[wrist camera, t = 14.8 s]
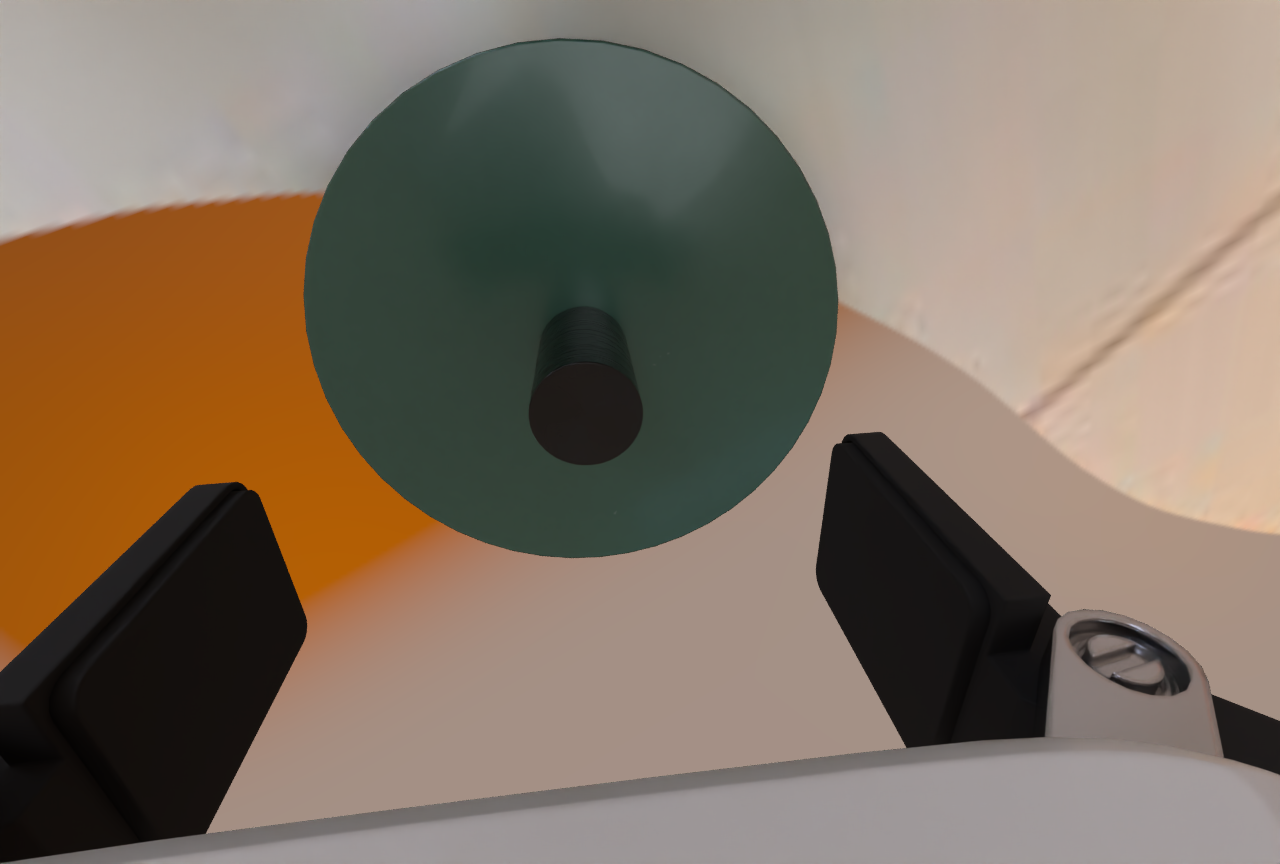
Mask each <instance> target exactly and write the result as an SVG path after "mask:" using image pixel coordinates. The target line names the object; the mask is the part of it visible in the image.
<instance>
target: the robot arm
mask: <svg viewBox="0 0 1280 864" xmlns="http://www.w3.org/2000/svg"><path fill="white" fill-rule="evenodd" d="M816 576H817V582H818V585H819V588H820V590H821V592H822V594H823V596H824V597H825V599H826V601H827V603H828V605H829V607H830V608H831V610H832V612H833V614H834V616H835V618H836V619H837V621H838V623H839V625H840V627H841V629H842V630H843V632H844V634H845V636H846V637H847V639H848V641H849V643H850V645H851V647H852V649H853V650H854V652H855V654H856V656H857V658H858V660H859V661H860V663H861V665H862V667H863V669H864V671H865V672H866V674H867V676H868V678H869V680H870V682H871V683H872V685H873V687H874V689H875V691H876V692H877V694H878V696H879V698H880V700H881V702H882V703H883V705H884V707H885V709H886V711H887V713H888V715H889V716H890V718H891V720H892V722H893V724H894V725H895V727H896V729H897V731H898V733H899V735H900V736H901V738H902V740H903V742H904V744H905V746H906V748H903V749H893V750H883V751H873V752H863V753H854V754H845V755H837V756H829V757H820V758H812V759H803V760H794V761H786V762H778V763H769V764H761V765H752V766H744V767H735V768H727V769H719V770H711V771H702V772H693V773H685V774H676V775H668V776H659V777H651V778H643V779H636V780H628V781H619V782H611V783H603V784H594V785H587V786H578V787H570V788H562V789H554V790H546V791H538V792H530V793H522V794H514V795H506V796H498V797H490V798H482V799H474V800H466V801H458V802H451V803H443V804H434V805H426V806H418V807H410V808H402V809H394V810H387V811H379V812H371V813H363V814H356V815H348V816H340V817H332V818H324V819H317V820H309V821H302V822H295V823H286V824H278V825H271V826H263V827H255V828H248V829H240V830H232V831H225V832H217V833H209V834H206V832H207V830H208V828H209V826H210V824H211V822H212V820H213V818H214V816H215V814H216V812H217V810H218V808H219V806H220V805H221V802H222V801H223V799H224V797H225V795H226V793H227V791H228V789H229V787H230V785H231V783H232V781H233V779H234V777H235V775H236V773H237V771H238V769H239V767H240V765H241V763H242V762H243V759H244V757H245V756H246V754H247V752H248V749H249V748H250V746H251V744H252V742H253V740H254V738H255V736H256V734H257V732H258V730H259V728H260V726H261V724H262V722H263V720H264V718H265V717H266V714H267V713H268V711H269V709H270V707H271V705H272V703H273V701H274V699H275V697H276V695H277V693H278V691H279V689H280V687H281V685H282V683H283V681H284V679H285V677H286V675H287V674H288V671H289V670H290V668H291V666H292V664H293V662H294V660H295V658H296V656H297V654H298V652H299V650H300V648H301V646H302V644H303V642H304V640H305V637H306V633H307V620H306V616H305V613H304V611H303V608H302V605H301V603H300V600H299V598H298V595H297V592H296V590H295V587H294V585H293V582H292V580H291V577H290V574H289V572H288V569H287V567H286V564H285V561H284V559H283V556H282V554H281V551H280V548H279V546H278V543H277V541H276V538H275V536H274V533H273V530H272V528H271V525H270V523H269V520H268V517H267V515H266V512H265V510H264V507H263V504H262V502H261V499H260V497H259V495H258V494H257V493H256V492H255V491H252V490H247V489H246V487H245V486H244V485H243V484H241V483H239V482H231V483H219V484H206V485H197V486H194V487H193V488H191V489H190V490H189V491H188V492H187V493H186V494H185V495H184V496H183V497H182V498H181V499H180V500H179V501H178V502H176V503H175V504H174V505H173V506H172V507H171V508H170V509H169V510H168V511H167V512H166V513H165V514H164V515H163V516H162V517H161V518H160V519H159V520H158V521H157V522H156V523H155V524H154V525H153V526H152V527H151V528H150V529H148V530H147V531H146V532H145V533H144V534H143V535H142V536H141V537H140V538H139V539H138V540H137V541H136V542H135V543H134V544H133V545H132V546H131V547H130V548H129V549H128V550H127V551H126V552H125V553H123V554H122V555H121V556H120V557H119V558H118V560H116V561H115V562H114V563H113V564H112V565H111V566H110V567H109V568H108V569H107V570H106V571H105V572H104V573H103V574H102V575H101V576H100V577H99V578H98V579H97V580H96V581H94V582H93V583H92V584H91V585H90V586H89V587H88V588H87V589H86V590H85V591H84V592H83V593H82V594H81V595H80V596H79V597H78V598H77V599H76V600H75V601H74V602H73V603H72V604H71V605H70V606H68V608H66V610H64V611H63V612H62V613H61V614H60V615H59V616H58V617H57V618H56V619H55V620H54V621H53V622H52V623H51V624H50V625H49V626H48V627H47V628H46V629H44V630H43V631H42V632H41V633H40V634H39V635H38V636H37V637H36V638H35V639H34V640H33V641H32V642H31V643H30V644H29V645H28V646H27V647H26V648H25V649H24V650H23V651H22V652H21V653H20V654H19V655H18V656H17V657H15V658H14V659H13V660H12V661H11V662H10V663H9V664H8V665H7V666H6V667H5V668H4V669H3V670H2V671H1V672H0V864H1280V721H1278V720H1275V719H1273V718H1270V717H1268V716H1265V715H1263V714H1260V713H1258V712H1255V711H1253V710H1250V709H1248V708H1245V707H1243V706H1240V705H1237V704H1235V703H1232V702H1229V701H1227V700H1225V699H1222V698H1220V697H1217V696H1214V695H1212V694H1211V690H1210V686H1209V681H1208V679H1207V677H1206V675H1205V673H1204V670H1203V668H1202V666H1201V665H1200V664H1199V663H1198V662H1197V661H1196V660H1195V659H1194V657H1193V656H1192V655H1191V654H1190V653H1189V652H1188V651H1187V650H1186V649H1185V648H1183V647H1182V646H1181V645H1179V644H1178V643H1177V642H1175V641H1174V640H1173V639H1172V638H1170V637H1169V636H1167V635H1165V634H1163V633H1162V632H1160V631H1158V630H1156V629H1154V628H1153V627H1151V626H1149V625H1147V624H1145V623H1142V622H1140V621H1137V620H1134V619H1132V618H1129V617H1127V616H1124V615H1120V614H1116V613H1111V612H1107V611H1103V610H1086V609H1083V610H1077V611H1072V612H1068V613H1066V614H1065V615H1063V616H1060V615H1059V614H1058V613H1057V612H1056V611H1055V610H1054V609H1053V608H1052V607H1051V606H1050V605H1049V604H1048V602H1049V599H1050V596H1051V595H1050V594H1049V593H1048V592H1047V591H1046V590H1045V589H1044V588H1043V587H1042V586H1041V585H1040V584H1039V583H1038V582H1037V581H1036V580H1035V579H1034V578H1033V577H1032V576H1031V575H1030V574H1029V573H1028V572H1027V571H1025V570H1024V569H1023V568H1022V567H1021V566H1020V565H1019V564H1018V563H1017V562H1016V561H1015V560H1014V559H1013V558H1012V557H1011V556H1010V555H1009V554H1008V553H1007V552H1006V551H1005V550H1004V549H1003V548H1002V547H1001V546H1000V545H998V543H997V542H996V541H994V540H993V539H992V538H991V537H990V536H989V535H988V534H987V533H986V532H985V531H984V530H983V529H982V528H981V527H980V526H979V525H978V524H977V523H976V522H975V521H974V520H973V519H972V518H971V517H970V516H968V514H967V513H966V512H964V511H963V510H962V509H961V508H960V507H959V506H958V505H957V504H956V503H955V502H954V501H953V500H952V499H951V498H950V497H949V496H948V495H947V494H946V493H945V492H944V491H943V490H942V489H941V488H940V487H939V486H938V485H937V484H936V483H935V482H934V481H933V480H932V479H931V478H929V477H928V476H927V475H926V474H925V473H924V472H923V471H922V470H921V469H920V468H919V467H918V466H917V465H916V464H915V463H914V462H913V461H912V460H911V459H910V458H909V457H908V456H907V455H906V454H905V453H904V452H902V450H901V449H899V448H898V447H897V446H896V445H895V444H894V443H893V442H892V441H891V440H890V439H889V438H888V437H887V436H886V435H885V434H883V433H882V432H873V433H860V434H848V435H846V436H845V437H844V439H843V441H842V443H840V444H836V445H835V446H834V447H833V451H832V456H831V463H830V471H829V478H828V485H827V492H826V499H825V506H824V514H823V521H822V528H821V535H820V542H819V550H818V557H817V564H816Z"/></svg>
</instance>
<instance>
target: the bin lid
mask: <svg viewBox="0 0 1280 864" xmlns="http://www.w3.org/2000/svg"><path fill="white" fill-rule="evenodd" d="M304 307H305V319H306V332H307V336H308V340H309V345H310V350H311V354H312V358H313V363H314V366H315V370H316V372H317V374H318V377H319V380H320V383H321V386H322V389H323V391H324V394H325V397H326V399H327V401H328V403H329V405H330V407H331V408H332V410H333V412H334V414H335V416H336V418H337V420H338V422H339V424H340V426H341V427H342V429H343V430H344V432H345V433H346V435H347V436H348V438H349V439H350V440H351V442H352V443H353V445H354V446H355V448H356V449H357V450H358V452H359V453H360V455H361V456H362V457H363V458H364V459H365V460H366V461H367V463H368V464H369V465H370V466H371V467H372V468H373V469H374V470H375V471H376V473H377V474H378V475H379V476H380V477H381V478H382V479H383V480H384V481H385V482H386V483H388V484H389V485H390V486H391V487H392V488H393V489H395V491H397V492H398V493H399V494H400V495H401V496H402V497H403V498H404V499H406V500H407V501H409V502H410V503H411V504H413V505H414V506H416V507H417V508H419V509H420V510H422V511H423V512H424V513H426V514H427V515H429V516H430V517H432V518H434V519H436V520H437V521H439V522H441V523H443V524H445V525H447V526H448V527H450V528H452V529H454V530H456V531H458V532H460V533H463V534H465V535H468V536H470V537H472V538H475V539H477V540H480V541H483V542H485V543H488V544H491V545H495V546H498V547H502V548H505V549H509V550H512V551H517V552H523V553H528V554H535V555H540V556H550V557H564V558H585V557H603V556H610V555H617V554H625V553H630V552H634V551H638V550H642V549H646V548H650V547H654V546H657V545H660V544H663V543H666V542H668V541H671V540H673V539H676V538H679V537H682V536H684V535H686V534H688V533H690V532H692V531H694V530H696V529H698V528H700V527H702V526H704V525H706V524H708V523H710V522H711V521H713V520H715V519H716V518H718V517H719V516H721V515H722V514H724V513H726V512H727V511H729V510H730V509H732V508H733V507H734V506H736V505H737V504H738V503H739V502H741V501H742V500H743V499H744V498H746V497H747V496H748V495H749V494H751V493H752V492H753V491H754V490H755V489H756V488H757V487H758V486H759V485H760V484H761V483H762V482H763V481H764V480H765V479H766V478H767V477H768V476H769V475H770V474H771V473H772V472H773V471H774V470H775V469H776V468H777V466H778V465H779V464H780V463H781V461H782V460H783V459H784V458H785V456H786V455H787V454H788V453H789V451H790V450H791V449H792V448H793V446H794V444H795V443H796V441H797V439H798V438H799V436H800V435H801V433H802V431H803V430H804V428H805V426H806V425H807V423H808V421H809V419H810V417H811V415H812V413H813V411H814V409H815V406H816V404H817V402H818V400H819V397H820V396H821V393H822V390H823V387H824V383H825V381H826V377H827V374H828V371H829V368H830V365H831V360H832V354H833V349H834V344H835V338H836V329H837V314H838V291H837V278H836V266H835V261H834V257H833V252H832V247H831V242H830V238H829V233H828V230H827V228H826V225H825V222H824V219H823V216H822V214H821V211H820V208H819V205H818V203H817V200H816V198H815V196H814V194H813V192H812V190H811V188H810V186H809V185H808V183H807V181H806V179H805V177H804V175H803V173H802V171H801V169H800V167H799V166H798V165H797V163H796V162H795V160H794V159H793V158H792V156H791V155H790V153H789V152H788V151H787V149H786V148H785V147H784V145H783V144H782V142H781V141H780V140H779V138H778V137H777V136H776V135H775V134H774V133H773V132H772V131H771V129H770V128H769V127H768V126H767V125H766V124H765V123H764V122H763V121H762V120H761V119H760V118H759V117H758V116H757V115H756V114H755V113H754V112H753V111H752V110H751V109H750V108H749V107H748V106H746V105H745V104H744V103H742V102H741V101H740V100H739V99H737V98H736V97H735V96H733V95H732V94H731V93H730V92H728V91H727V90H726V89H724V88H723V87H722V86H720V85H719V84H718V83H716V82H714V81H712V80H710V79H709V78H707V77H705V76H703V75H702V74H700V73H698V72H696V71H694V70H693V69H691V68H689V67H687V66H685V65H684V64H681V63H679V62H676V61H673V60H671V59H668V58H666V57H663V56H660V55H658V54H655V53H652V52H650V51H647V50H644V49H640V48H635V47H631V46H626V45H621V44H616V43H612V42H607V41H602V40H584V39H566V38H557V39H547V40H537V41H527V42H517V43H513V44H510V45H506V46H502V47H498V48H494V49H491V50H487V51H483V52H479V53H476V54H473V55H471V56H469V57H467V58H464V59H462V60H460V61H458V62H455V63H453V64H451V65H448V66H446V67H444V68H442V69H439V70H437V71H436V72H434V73H433V74H431V75H430V76H428V77H427V78H425V79H423V80H422V81H420V82H419V83H417V84H416V85H414V86H413V87H411V88H410V89H408V90H406V91H405V92H403V93H402V94H401V95H400V96H399V97H398V98H397V99H395V100H394V101H393V102H392V103H391V104H390V105H389V106H388V107H387V108H385V109H384V110H383V111H382V112H381V113H380V114H379V115H378V116H377V117H375V118H374V119H373V120H372V121H371V123H370V124H369V125H368V126H367V128H366V129H365V130H364V131H363V133H362V134H361V135H360V136H359V138H358V139H357V140H356V141H355V143H354V144H353V145H352V146H351V147H350V149H349V150H348V151H347V153H346V155H345V156H344V158H343V160H342V162H341V163H340V165H339V167H338V168H337V170H336V172H335V174H334V175H333V177H332V179H331V181H330V182H329V184H328V186H327V189H326V191H325V194H324V197H323V199H322V202H321V204H320V207H319V210H318V212H317V215H316V218H315V220H314V224H313V228H312V233H311V237H310V243H309V247H308V251H307V256H306V265H305V280H304Z"/></svg>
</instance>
